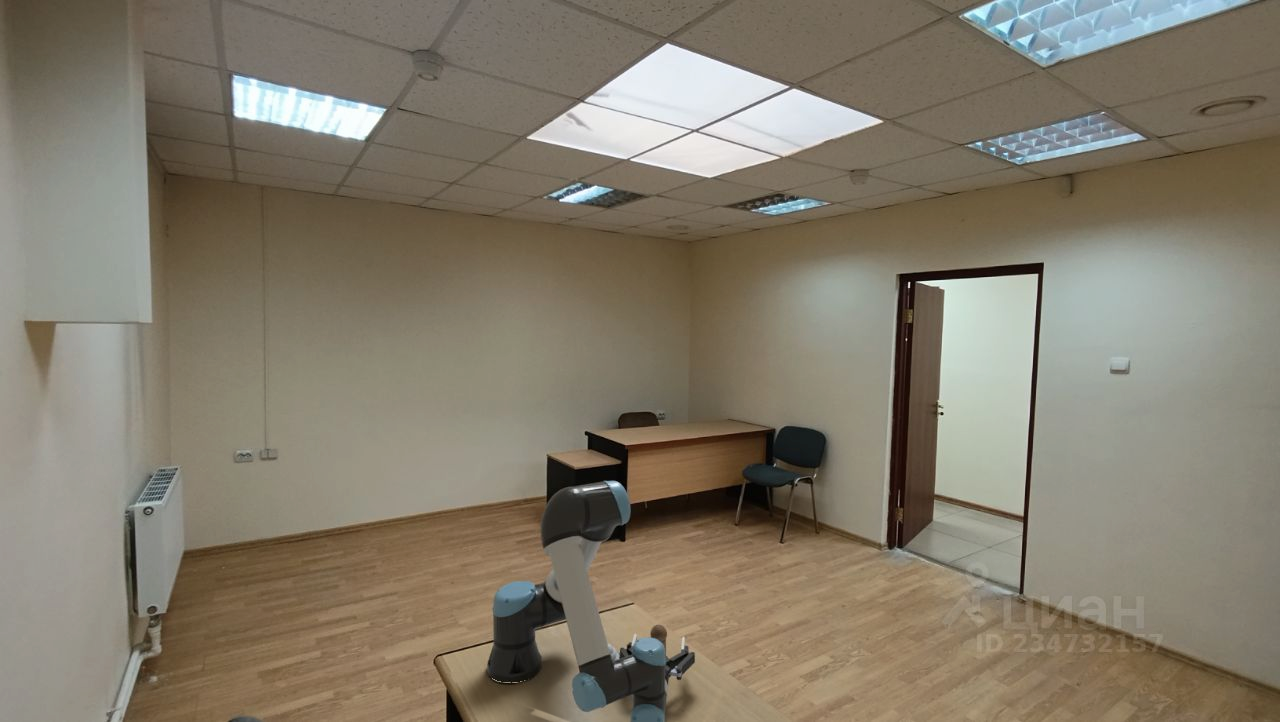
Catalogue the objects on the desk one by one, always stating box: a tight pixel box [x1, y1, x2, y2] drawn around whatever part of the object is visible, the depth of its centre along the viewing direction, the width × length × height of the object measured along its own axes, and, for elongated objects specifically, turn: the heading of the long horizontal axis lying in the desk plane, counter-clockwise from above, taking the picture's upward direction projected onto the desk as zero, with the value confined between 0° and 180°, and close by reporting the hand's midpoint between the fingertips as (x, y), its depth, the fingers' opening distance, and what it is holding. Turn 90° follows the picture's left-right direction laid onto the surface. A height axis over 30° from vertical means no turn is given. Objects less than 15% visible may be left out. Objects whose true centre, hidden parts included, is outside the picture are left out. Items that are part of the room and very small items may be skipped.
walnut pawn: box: [649, 624, 669, 658], centre depth 165 cm, size 6×6×11 cm
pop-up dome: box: [607, 642, 619, 661], centre depth 160 cm, size 7×7×6 cm
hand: (659, 640), depth 162 cm, fingers open, 13 cm apart
